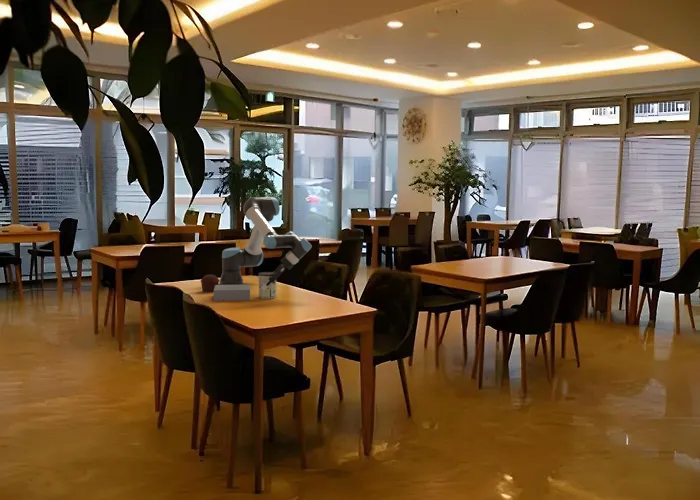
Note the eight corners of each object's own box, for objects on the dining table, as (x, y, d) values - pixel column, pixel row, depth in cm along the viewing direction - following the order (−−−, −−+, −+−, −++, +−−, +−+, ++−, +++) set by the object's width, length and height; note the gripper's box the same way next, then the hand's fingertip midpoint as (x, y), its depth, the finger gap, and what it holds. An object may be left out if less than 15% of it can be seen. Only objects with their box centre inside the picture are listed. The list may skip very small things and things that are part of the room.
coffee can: (260, 295, 390) (260, 271, 389) (278, 296, 389) (278, 272, 388) (256, 298, 380) (256, 274, 379) (274, 298, 379) (274, 274, 378)
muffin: (214, 293, 397) (214, 276, 396) (197, 292, 400) (197, 275, 399) (222, 290, 409) (222, 274, 408) (205, 289, 411) (205, 273, 410)
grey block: (215, 295, 390) (215, 285, 390) (250, 294, 393) (250, 284, 393) (213, 300, 370) (213, 290, 370) (250, 300, 373) (250, 289, 373)
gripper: (295, 267, 374) (267, 295, 373) (292, 262, 396) (266, 289, 396) (286, 258, 373) (257, 286, 372) (283, 254, 395) (257, 280, 394)
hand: (262, 287), depth 384 cm, fingers closed on coffee can, 10 cm apart
